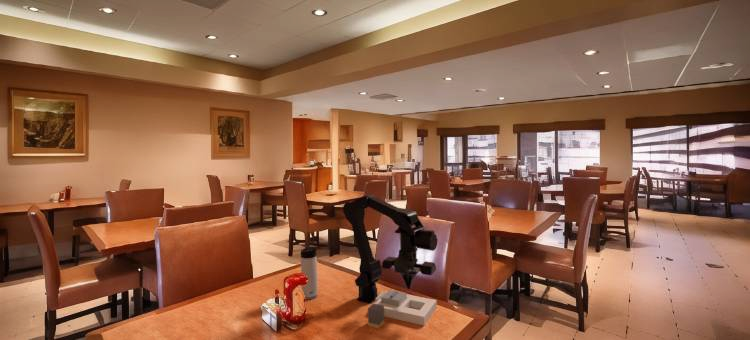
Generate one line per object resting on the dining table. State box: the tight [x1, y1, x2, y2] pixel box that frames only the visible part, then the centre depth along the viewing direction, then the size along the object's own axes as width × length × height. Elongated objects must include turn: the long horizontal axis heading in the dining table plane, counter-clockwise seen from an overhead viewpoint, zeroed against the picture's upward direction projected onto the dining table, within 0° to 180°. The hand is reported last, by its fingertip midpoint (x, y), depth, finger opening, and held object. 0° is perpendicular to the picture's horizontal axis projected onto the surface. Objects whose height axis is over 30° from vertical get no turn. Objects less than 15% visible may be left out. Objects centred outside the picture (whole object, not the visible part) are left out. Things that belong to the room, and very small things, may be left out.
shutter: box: [381, 289, 408, 306], centre depth 127 cm, size 7×7×3 cm
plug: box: [367, 303, 385, 329], centre depth 116 cm, size 4×4×6 cm
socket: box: [372, 290, 438, 326], centre depth 126 cm, size 20×14×4 cm
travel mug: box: [300, 246, 319, 301], centre depth 139 cm, size 6×7×20 cm
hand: (409, 288), depth 124 cm, fingers closed
